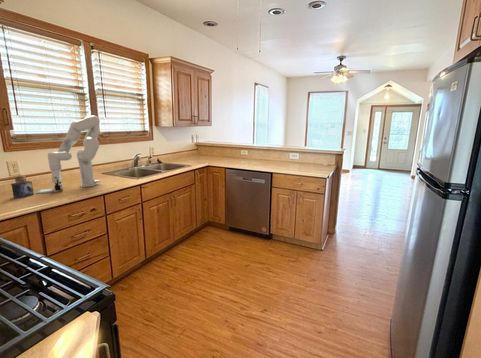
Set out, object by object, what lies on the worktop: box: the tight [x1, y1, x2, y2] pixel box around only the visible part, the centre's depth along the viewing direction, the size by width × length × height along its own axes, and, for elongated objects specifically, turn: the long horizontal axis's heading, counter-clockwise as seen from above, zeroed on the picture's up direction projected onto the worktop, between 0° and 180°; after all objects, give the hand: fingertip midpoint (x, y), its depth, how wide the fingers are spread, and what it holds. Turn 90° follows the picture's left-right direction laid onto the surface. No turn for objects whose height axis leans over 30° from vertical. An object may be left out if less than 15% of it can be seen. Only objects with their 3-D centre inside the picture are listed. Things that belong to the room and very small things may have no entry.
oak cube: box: [53, 183, 64, 192], centre depth 209 cm, size 5×5×5 cm
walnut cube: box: [14, 174, 27, 184], centre depth 191 cm, size 5×5×5 cm
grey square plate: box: [36, 187, 55, 195], centre depth 205 cm, size 10×10×1 cm
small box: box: [10, 180, 35, 199], centre depth 193 cm, size 11×6×10 cm, turn 165°
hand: (58, 189), depth 209 cm, fingers open, 7 cm apart
